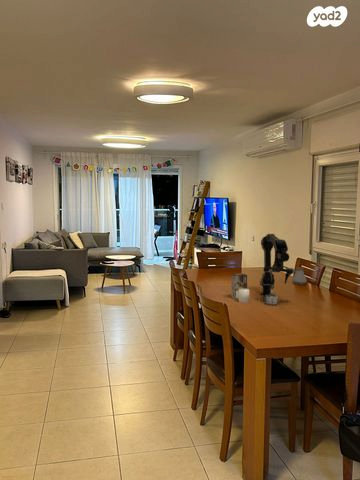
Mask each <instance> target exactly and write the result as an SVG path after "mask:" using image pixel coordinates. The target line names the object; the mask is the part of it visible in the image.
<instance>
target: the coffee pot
mask: <svg viewBox="0 0 360 480" xmlns="http://www.w3.org/2000/svg"><path fill="white" fill-rule="evenodd" d="M283 266H284V269H287V268H289V267H288V266H285V265H283ZM295 269H296V270H294V275H293V277H292V280H291V282H292V283H293V284H294V285H297V284H298V285H299V286H302V285H303V284H304V285H305V284H306V283H307V281H308V279H307V277H306V275H305V273H304V269H305V268H304V267H300V266H299V267H298V266H297V267H295Z"/></svg>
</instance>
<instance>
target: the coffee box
mask: <svg viewBox="0 0 360 480" xmlns="http://www.w3.org/2000/svg"><path fill="white" fill-rule="evenodd" d="M240 288H246V289H248V275H247V274H246V273H231V288H230V289H231V290H230V291H231V292H230V294H231V296H230V297H231V298H232V299H235V300H238V298H236V291H239V289H240Z"/></svg>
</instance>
